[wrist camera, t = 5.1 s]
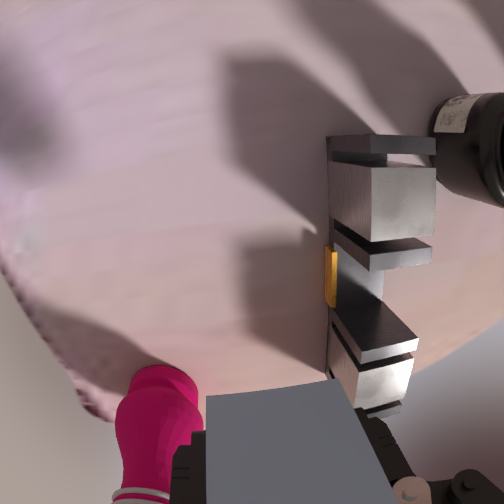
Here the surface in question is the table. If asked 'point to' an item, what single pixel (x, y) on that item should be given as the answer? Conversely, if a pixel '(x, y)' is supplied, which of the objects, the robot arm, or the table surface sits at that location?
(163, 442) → the pepper mill
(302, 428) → the light grey block
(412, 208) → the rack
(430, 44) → the table surface
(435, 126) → the ink bottle
